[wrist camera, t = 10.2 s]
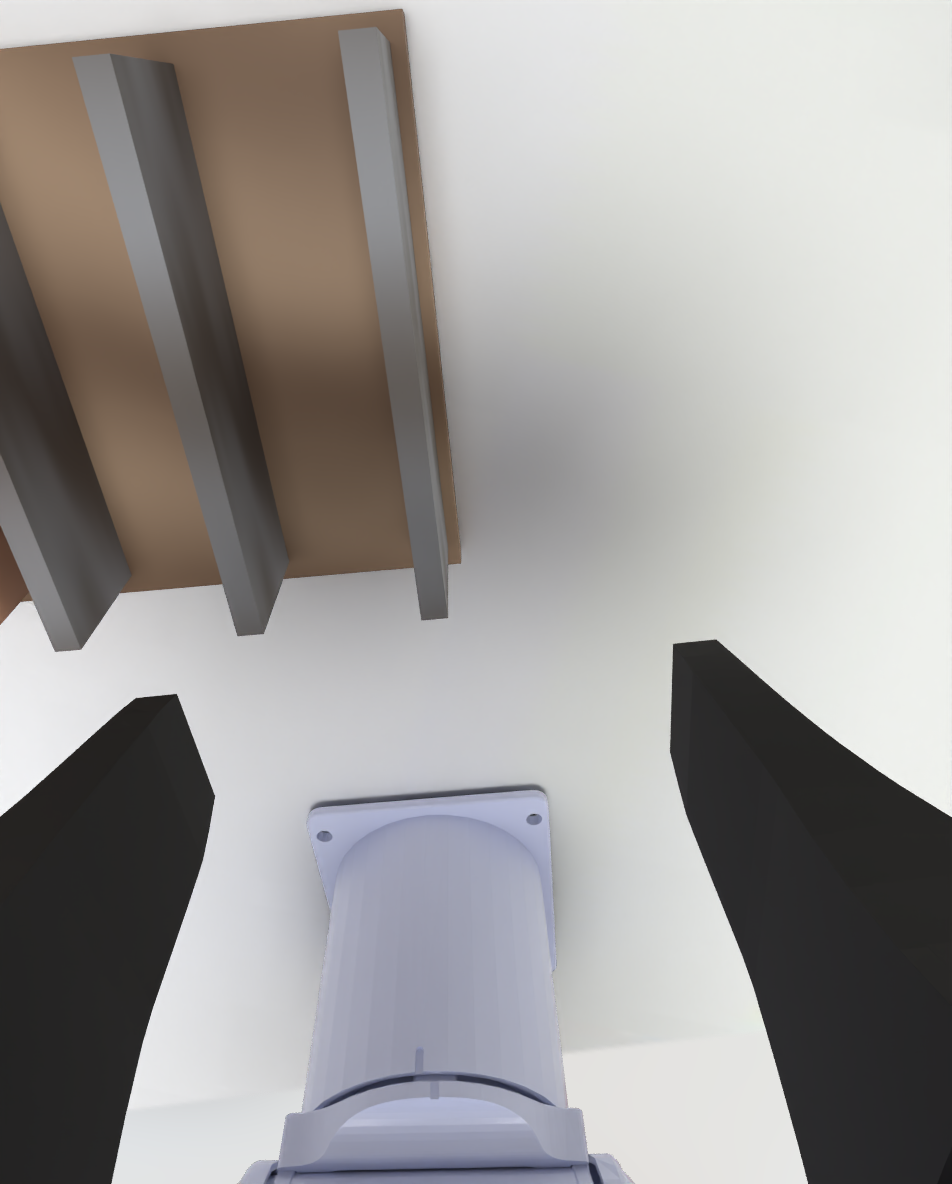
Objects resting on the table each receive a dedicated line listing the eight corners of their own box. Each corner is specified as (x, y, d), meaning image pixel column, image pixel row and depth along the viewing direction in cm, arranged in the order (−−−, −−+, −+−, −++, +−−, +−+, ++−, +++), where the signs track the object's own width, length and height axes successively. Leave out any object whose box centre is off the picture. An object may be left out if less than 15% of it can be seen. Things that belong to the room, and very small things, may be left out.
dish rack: (460, 548, 22) (462, 635, 18) (-184, 605, 22) (-305, 700, 19) (404, 13, 16) (391, -15, 12) (-486, 101, 16) (-754, 100, 13)
